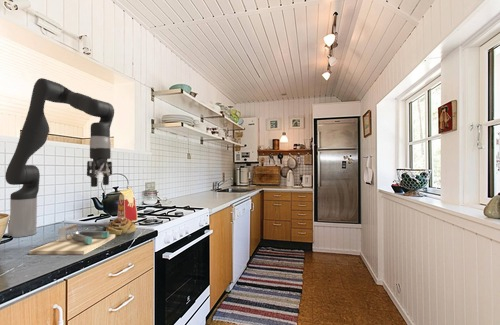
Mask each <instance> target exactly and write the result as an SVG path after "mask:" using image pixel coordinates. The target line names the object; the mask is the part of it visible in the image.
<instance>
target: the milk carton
mask: <svg viewBox="0 0 500 325" xmlns="http://www.w3.org/2000/svg"><path fill="white" fill-rule="evenodd" d="M119 192H120V193H119V198H118V204H117V205H118V206H117V217H116V218H118V217H125V218H127V219H129V220H130V221H132V222H134V223H136V222H138V209H137V202H136V199H135V195H134V192H133V190H132V186H131V187H128V188H126V189H122V190H119Z"/></svg>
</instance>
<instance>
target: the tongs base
mask: <svg viewBox="0 0 500 325" xmlns="http://www.w3.org/2000/svg"><path fill="white" fill-rule="evenodd" d="M75 233H77V234H81V235H85V236H89V237H92V238H108V237H109V231H106V230H105V231H104V230H102V231H101V230H98V231H95V230H93V231H91V230H90V231H89V230H88V231H86V230H85V231H79V230H78V231H74V232H72V240H73V234H75Z"/></svg>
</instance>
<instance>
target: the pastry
mask: <svg viewBox="0 0 500 325" xmlns="http://www.w3.org/2000/svg"><path fill="white" fill-rule="evenodd" d="M136 230H137V227H136V224H135V222H132V221H130V220H129V219H127V218H125V217H118V218H117V217H116V218H115V219H113V220H112V221H110V222H109V223H108V224H107V226H106V229H105V231H109V234H115V237H121V236H122V235H127V234H128V235H129V234H131V233H133V232H135V231H136Z"/></svg>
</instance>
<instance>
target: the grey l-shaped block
mask: <svg viewBox="0 0 500 325" xmlns="http://www.w3.org/2000/svg"><path fill="white" fill-rule="evenodd" d="M57 231H58V232H57V233H58V234H57V240H58V241H66V240H67V236H68V231H69V235H70V236H72V232H74V231H79V224H78V223H74V224H73V223H70V224H67V225H64V226H61V227H58V230H57Z"/></svg>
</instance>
